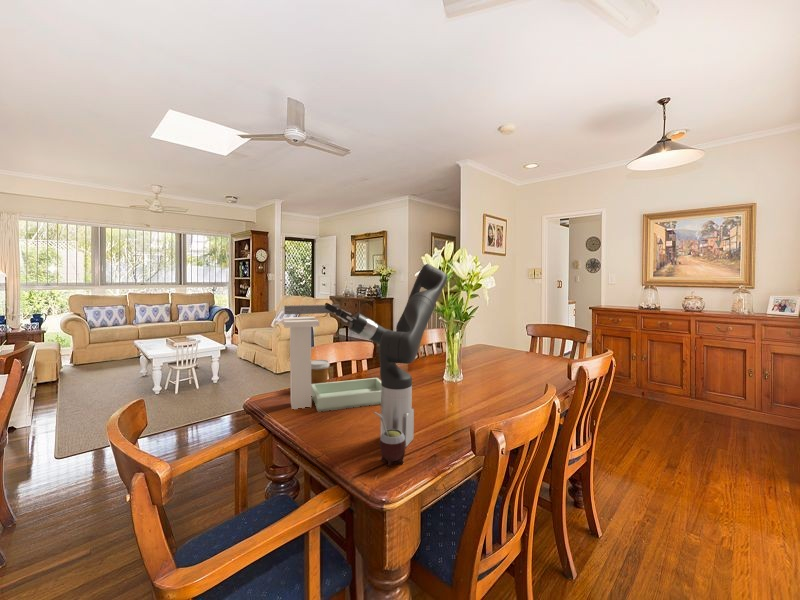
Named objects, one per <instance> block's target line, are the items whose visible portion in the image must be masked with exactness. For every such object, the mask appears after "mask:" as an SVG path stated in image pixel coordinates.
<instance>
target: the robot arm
mask: <svg viewBox="0 0 800 600" xmlns="http://www.w3.org/2000/svg"><path fill="white" fill-rule="evenodd" d="M447 282H448V274H446V272H445V271H443V270H441V269H439V268H437V267H435V266H433V265H431V264H429V263H425V264H424V265H423V266H422V268H421V269H420V271H419V273H418V274H417V277H416V279H415V281H414V284H413V286H412V289H411V292H410V294H409V296H408V300H407V301H406V305H405V307H404V310H403V312H402V313H401V316H400V317H399V320H398V322H397V323H396V328H395V330H396V331H394V330H391V329H389V328H385V327H383V326H382V325H380V324H378V323H377V322H375V321H374V320H372V319H371V318H369V317H367V316H365V315H364V314H362V313H360V312H357V313H355V314H354V315H353V313H351V312H349V311H347V310H344V309H343V308H341V309H340V307H339V308H336V307H334V306H332V305H333V304H330V303H329V302H325V303H324V305H326V307H325V308H326V309H327V310H329V311H331V312H333V313H332V314H334V315H335V316H336V317H337V318H339V319H341V320H342V321H343V322H344V323H347V324H348V323H349V325H348V330H350V331H352V332H354V333H355V334H358V336H360V337H363V338H365V339H367V340H370V341H371V342H374V343H375V344H377V345H379V348H378V350H379V374H380V375H379V377H380V380H381V404H380V415H381V416H382V417H383V419H384V423H385V426H386V429H387V430H388V429H397V430H400V431H401V432H402V433H403V434H404V436H405V441H406V448H407V447H408V445H409V444H411V442H412V441H413V440H414V433H415V432H414V429H415V428H414V427H415V423H414V422H415V421H414V419H415V418H414V417H415V416H414V415H415V409H414V408H413V407H412V405H413V404H412V402H413V401H412V400H413V399H412V396H413V393H412V392H413V389H412V388H413V378H412V375H411V374H410V373H408V371H407V372H406V371H404V370H403V368H400V367H399V366H398V365H397V364H404V365H405V364H407V365H409V364H412V363H413V362H414V361H415V359H416V357H417V355H418V352H419V349H420V346H421V343H422V340H423V339H422V338H423V336H424V333H425V330H426V327H427V325H428V323H429V322H430V319H431V317H432V315H433V312H434V310H435V306H436V304H437V301H438V300H439V297H440V295H441V293H442V292H443V289H444V288H445V285H446V283H447ZM422 288H423V289H425V290H422V291H421V289H422ZM384 431H385V429H384V426H383V423H382V421H381V420H380V436H381V435H382V434H383V432H384Z"/></svg>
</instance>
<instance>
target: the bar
mask: <svg viewBox="0 0 800 600" xmlns="http://www.w3.org/2000/svg"><path fill="white" fill-rule="evenodd" d="M331 305H332V306H334V307H336V308H339V309H340V304H331ZM325 307H326V305H325V304H306V305H305V304H304V305H303V304H301V305H300V304H299V305H296V304H295V305H289V304H288V305H283V308H284V309H283V310H284V312H283V314H284V315H310V314H311V315H313V314H314V315H315V314H316V315H317V314H320V315H321V314H333V312H331V311H329V310H327V309H326V308H325Z"/></svg>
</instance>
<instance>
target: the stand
mask: <svg viewBox="0 0 800 600" xmlns="http://www.w3.org/2000/svg"><path fill="white" fill-rule="evenodd" d="M282 325H283V327H284V329H286V328H289V359H290V361H289V362H290V363H289V364H290V366H289V368H290V373H289V374H290V377H289V378H290V381H289V382H290V386H289V387H290V407H291V410H292V409H294V410H299V409H298V408H302V409H306V408H305V407H310V408H312V397H311V361H312V328H313V327H316V328H317V327H320V321H319V319H317V317H315V316H297V317H294V316H293V317H282Z"/></svg>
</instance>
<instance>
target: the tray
mask: <svg viewBox="0 0 800 600" xmlns="http://www.w3.org/2000/svg"><path fill="white" fill-rule="evenodd" d="M311 396H312V397H311V400H312V402H313V401H314V402H313V403H315V404H314V406H316V407H315V409H316V411H318V412H317V413H322V412H321V411H323V412H329V410H331V411H339V410H345V409H346V408H347V409H353V407H354V408H361V407H360V406H362V407H368V406H369V405H370V406H375V405H377V406H378V405H381V378H379V377H371V378H370V377H369V378H361V379H360V378H359V379H351V380H341V381H329V382H328V381H327V383H317V384H311ZM338 409H339V410H338Z"/></svg>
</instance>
